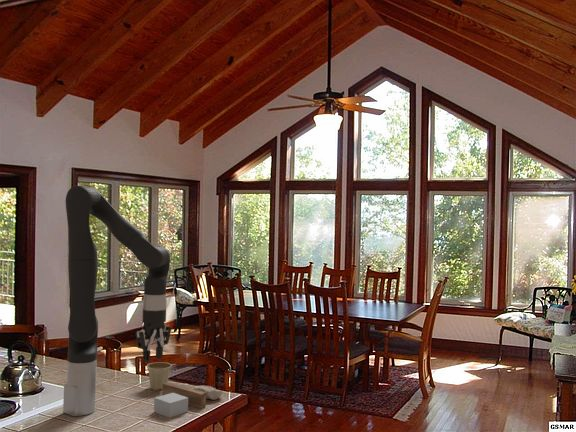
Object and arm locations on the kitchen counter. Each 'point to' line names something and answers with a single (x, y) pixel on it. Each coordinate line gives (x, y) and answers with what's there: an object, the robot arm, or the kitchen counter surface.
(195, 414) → the kitchen counter surface
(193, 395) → the board
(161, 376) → the flower pot
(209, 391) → the fossil
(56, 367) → the kitchen counter surface
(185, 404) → the block
